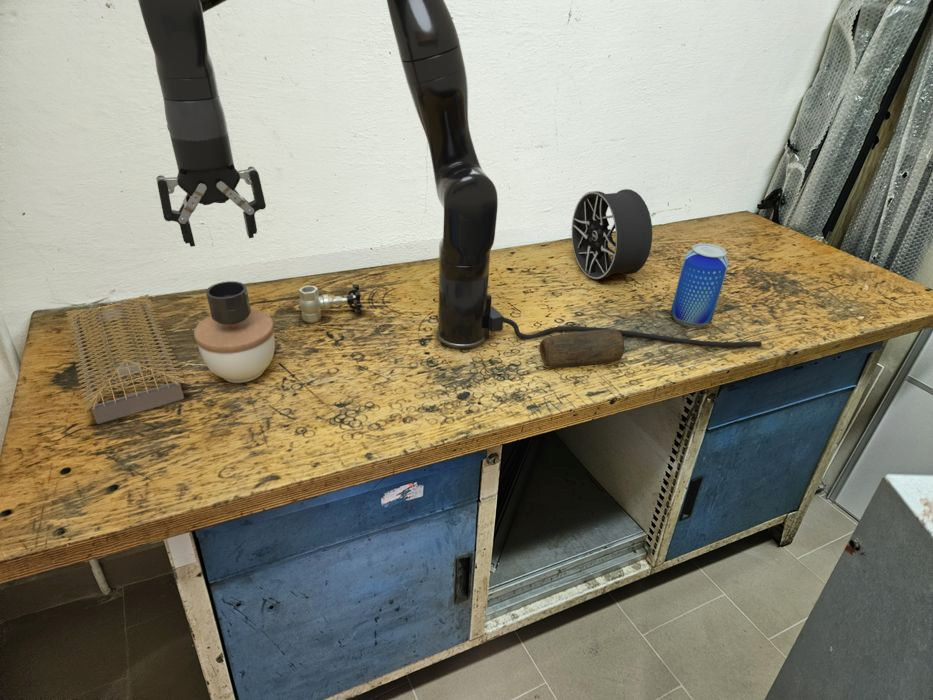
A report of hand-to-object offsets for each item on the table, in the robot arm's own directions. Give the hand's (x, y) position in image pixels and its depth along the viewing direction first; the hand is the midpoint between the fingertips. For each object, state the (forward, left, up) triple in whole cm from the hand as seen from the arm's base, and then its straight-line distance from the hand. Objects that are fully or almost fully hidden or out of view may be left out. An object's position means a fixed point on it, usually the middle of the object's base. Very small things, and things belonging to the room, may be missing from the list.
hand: (222, 240), depth 91 cm
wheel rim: (-85, -8, -25) cm, 89 cm away
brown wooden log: (-56, +22, -25) cm, 65 cm away
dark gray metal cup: (+1, 0, -13) cm, 13 cm away
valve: (-19, -13, -25) cm, 33 cm away
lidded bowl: (+1, 0, -25) cm, 25 cm away
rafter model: (+19, -12, -25) cm, 33 cm away
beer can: (-88, +18, -25) cm, 93 cm away
